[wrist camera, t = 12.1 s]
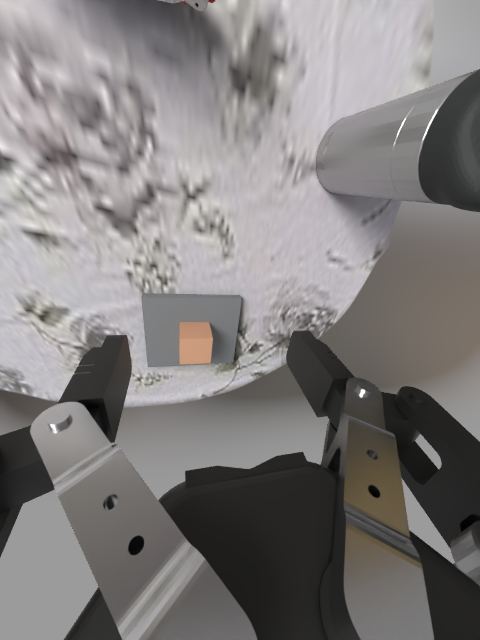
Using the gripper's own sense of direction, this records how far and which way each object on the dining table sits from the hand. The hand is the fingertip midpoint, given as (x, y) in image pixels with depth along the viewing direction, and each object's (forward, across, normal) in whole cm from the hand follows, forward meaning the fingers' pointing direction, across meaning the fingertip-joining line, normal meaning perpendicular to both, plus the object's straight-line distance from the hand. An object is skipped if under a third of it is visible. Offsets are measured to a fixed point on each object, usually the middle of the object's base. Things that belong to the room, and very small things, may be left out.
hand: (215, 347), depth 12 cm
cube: (+26, 0, +17) cm, 31 cm away
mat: (+28, 0, +17) cm, 32 cm away
